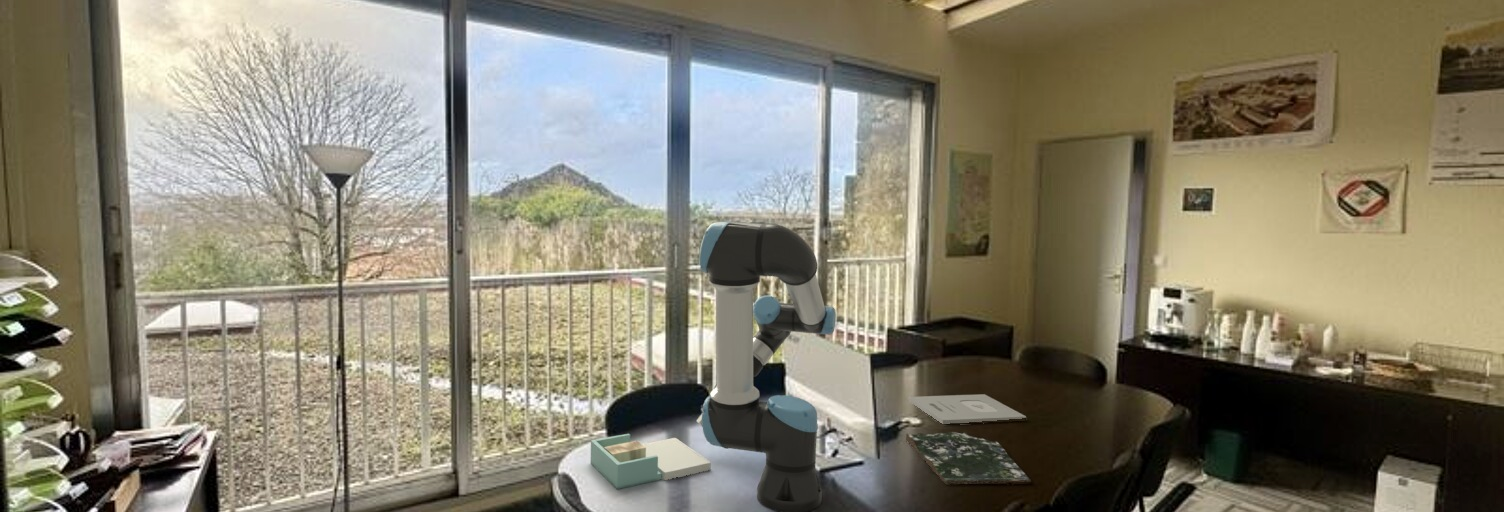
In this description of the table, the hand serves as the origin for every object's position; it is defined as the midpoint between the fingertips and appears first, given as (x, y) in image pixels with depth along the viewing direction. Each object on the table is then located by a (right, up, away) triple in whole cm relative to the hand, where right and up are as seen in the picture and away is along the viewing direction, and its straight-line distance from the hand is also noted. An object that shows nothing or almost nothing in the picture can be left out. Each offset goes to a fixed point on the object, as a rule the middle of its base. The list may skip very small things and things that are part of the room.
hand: (700, 424), depth 179 cm
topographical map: (+74, -11, +4) cm, 75 cm away
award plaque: (+87, -8, +47) cm, 99 cm away
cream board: (-8, -9, -4) cm, 12 cm away
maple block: (-15, -5, -9) cm, 18 cm away
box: (-18, -9, -11) cm, 23 cm away
